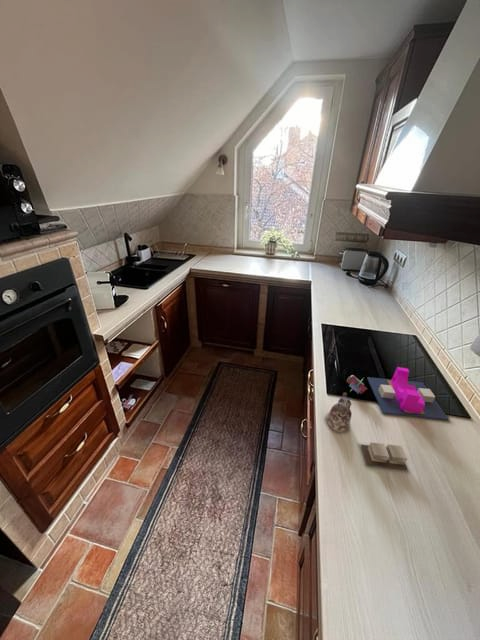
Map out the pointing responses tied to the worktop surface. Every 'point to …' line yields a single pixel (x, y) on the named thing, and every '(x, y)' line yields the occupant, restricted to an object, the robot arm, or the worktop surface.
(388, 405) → the blue orange board
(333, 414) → the figurine
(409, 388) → the toy block
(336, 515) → the worktop surface
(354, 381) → the geometric puzzle
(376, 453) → the word strip left
